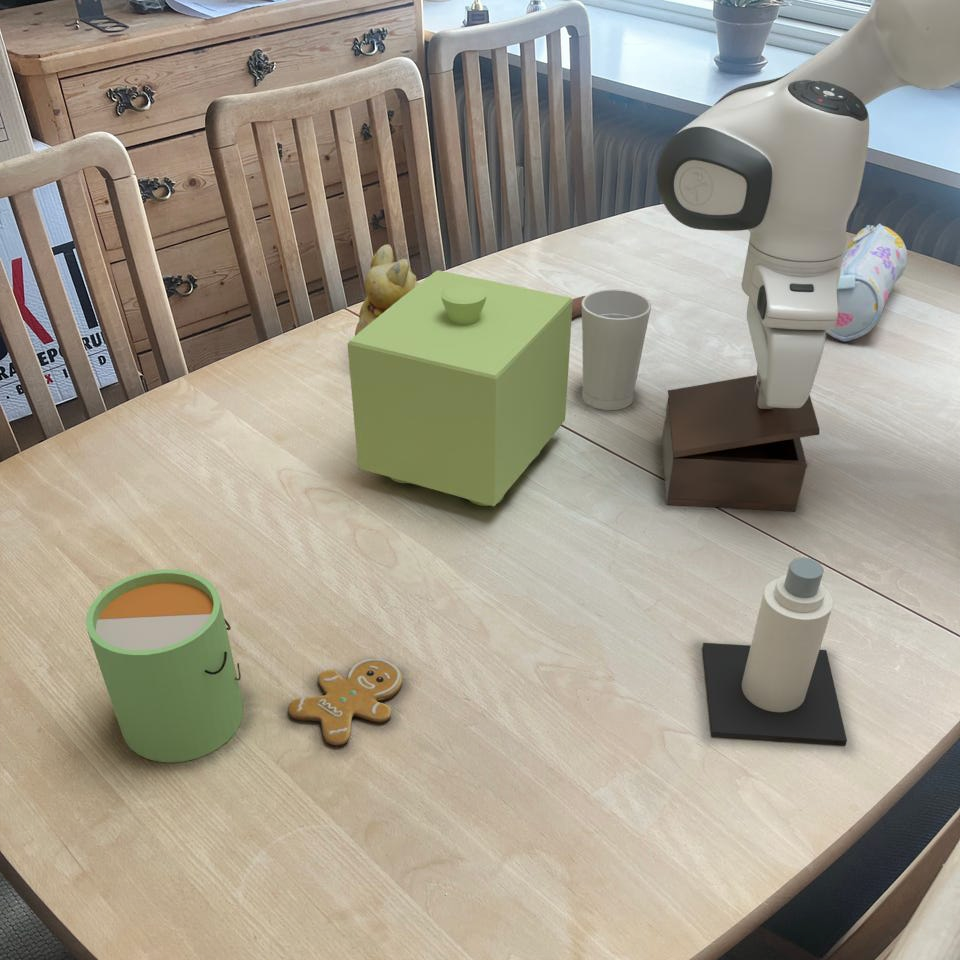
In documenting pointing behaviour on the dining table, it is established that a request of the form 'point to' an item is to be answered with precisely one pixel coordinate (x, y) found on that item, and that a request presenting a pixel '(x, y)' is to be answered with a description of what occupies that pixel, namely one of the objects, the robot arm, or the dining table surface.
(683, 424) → the chest lid
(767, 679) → the bottle
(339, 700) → the cookie
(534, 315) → the container
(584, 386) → the cup
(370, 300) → the decorative figurine
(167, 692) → the mug
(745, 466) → the chest
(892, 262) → the pencil case
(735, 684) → the mat
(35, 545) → the dining table surface
